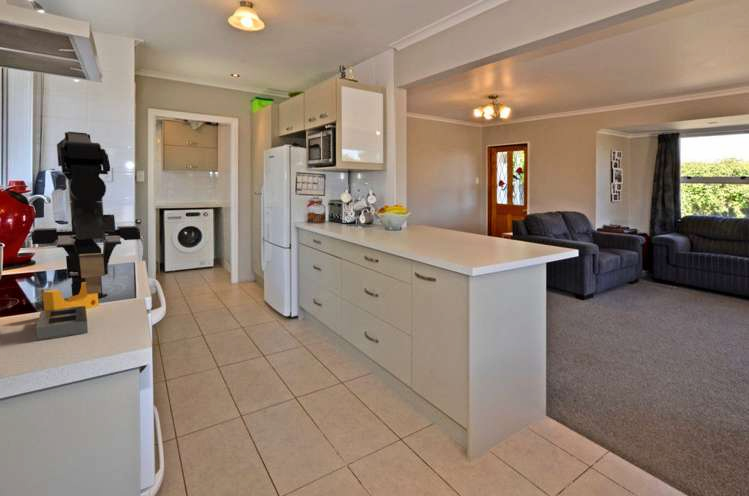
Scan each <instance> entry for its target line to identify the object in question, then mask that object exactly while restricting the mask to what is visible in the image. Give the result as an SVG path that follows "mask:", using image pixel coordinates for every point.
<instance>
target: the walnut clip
mask: <svg viewBox="0 0 749 496" xmlns="http://www.w3.org/2000/svg"><path fill="white" fill-rule="evenodd" d="M79 261H80V269H81V277H82V278H85V281H86V289H87V293H88V294H95V293H101V280H102V278H101V279H100V276H101V277H105V276H106V275H105V273H104V259H103V256H102V254H101V253H95V254H79Z"/></svg>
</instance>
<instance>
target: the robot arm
mask: <svg viewBox="0 0 749 496" xmlns="http://www.w3.org/2000/svg"><path fill="white" fill-rule="evenodd" d="M56 154H57V165H58V167H61V173H62V175H63V176H64V177H65V178H66V179H67V182H68V183H67V184H68V195H69V206H70V221H71V223H70V224H71V230H62V231H60V230H59V231H57V230H58V229H57V227H50V228H45V227H43V228H35V229H34V230H33V231H32V232H31V242H32V244H31V245H48V244H49V245H50V244H51V245H53V244H54V243H55V242H56V248H63V250H64V251H65V252H66V254H67V255H66V256H65V260H66V261H65V262H66V263H65V264H66V273H67V274H66V275H67V279H69V280H70V279H71V285H70V286H71V296H75V295H78V294H79V292H80V290H81V283H83V282H86V281H85V278H82V277H81V269H80V261H79V254H95V253H101V254H102V256H103V259H104V273H105V276H106V275H109V267H108V265H109V262H110V258H111V256H112V254H113V251H114V249H115V248H116V246H117V245H122V241H121V239H123V241H136V240H137V241H138V240H141V235H142V234H141V229H140V228H138V227H137V226H135V225H122V226H121V225H119V226H117V229H116V222H115V220H116V219H115V214H104V202H103V198H104V196H105V195H106V191H107V186H106V183H105V181H104V180H103V179H102V178H101V177H100V175H108V174H109V172H111V163H110V160H109V154H108V153H106V150H105V148H102V147H101V144H100V143H99V142H92V141H91V135H90V133H89V134H88V133H86V132H78V131H77V132H76V131H67V132H64V138H62V140H60V141H59V142H58V143H57V144H56ZM95 239H96V240H100V239H101V240H102V239H105V240H103V247H102V248H101V246H100V245H99V244H98V242H97V241H96V240H95ZM100 279H101V293H98V299H101V298H103V297H107V296H109V295H108V293H103V284H102V281H103V279H102V276H100ZM69 298H70V297H68V298H67V300H68V299H69Z"/></svg>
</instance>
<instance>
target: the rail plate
mask: <svg viewBox="0 0 749 496" xmlns="http://www.w3.org/2000/svg"><path fill="white" fill-rule="evenodd" d="M35 329H36V339H37V340H36V341H41V340H47V339H48V340H49V339H55V338H60V337H67V336H73V335H74V336H75V335H80V334H81V335H82V334H87V333H88V332H89V329H88V318H87V310H86V307H85V306H79V307H71V308H63V309H55V310H46V311H44V310H41V311H40V313H39V317H38V320H37V324H36V327H35Z"/></svg>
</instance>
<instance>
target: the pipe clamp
mask: <svg viewBox="0 0 749 496" xmlns="http://www.w3.org/2000/svg"><path fill="white" fill-rule="evenodd" d="M68 298H69V299H68ZM68 298H67V299H66V300H65V299H64V297H63V295H62V292H61V290H56V289H55V290H54V289H51V290H45V291H42V299H43V309H44V310H43V311H46V310H55V309H63V308H71V307H79V306H85V307H86V309H87V310H89V308H90V309H93V308H96V307H95V306H97V307H99V306H100V305H99V298H98V293H95V294H88V293H87V289H86V282H83V283H81V290H80V292H79V294H78V295H75V296H72V295H71V296H69V297H68ZM92 307H93V308H92Z"/></svg>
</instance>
